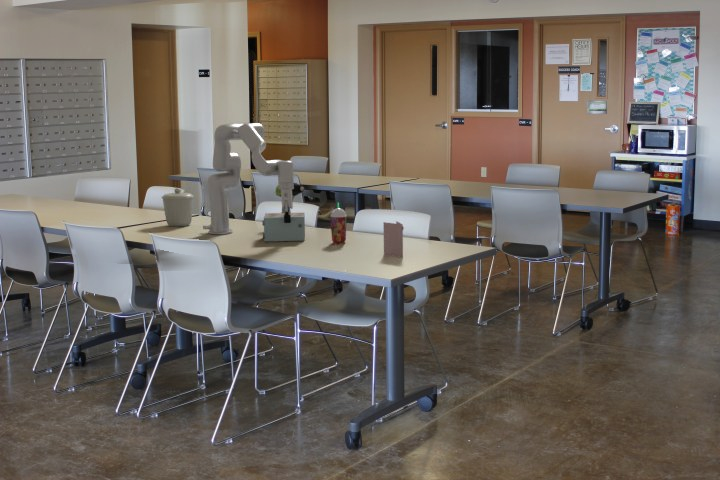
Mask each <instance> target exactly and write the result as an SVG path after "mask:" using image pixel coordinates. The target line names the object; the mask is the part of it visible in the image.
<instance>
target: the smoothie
mask: <svg viewBox="0 0 720 480" xmlns="http://www.w3.org/2000/svg"><path fill="white" fill-rule="evenodd" d="M329 217H330V219H329V220H330V228H331V229H330V231H331V232H330V233H331V241H332V243H333V244H335V245H336V244H337V245H341V244H345V243H346V239H347V224H348V223H347V222H348V221H347V218H348V214H347V213H346V211H345V210H344V209H343V208H340V202H337V207H336V208H335V209H333V210H332V211H331V213H330V214H329Z"/></svg>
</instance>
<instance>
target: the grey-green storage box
mask: <svg viewBox="0 0 720 480" xmlns="http://www.w3.org/2000/svg"><path fill="white" fill-rule="evenodd" d="M262 226H263V233H262V239H263V241H264V242H265V241H268V242H305V240H306V235H305V236H304V216H301V217H291V223H284V217H263V220H262Z"/></svg>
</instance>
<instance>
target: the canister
mask: <svg viewBox="0 0 720 480" xmlns="http://www.w3.org/2000/svg"><path fill="white" fill-rule="evenodd" d="M173 190H174V192H169V193H164V195H162V196H161V199H162V203H163V211H164V215H165V220H166V224H167V225H168V226H169V227H176V228H177V227H188V226H189V225H191V223H192V218H193V208H194V207H193V206H194V198H195V195H194V194H192V193H191V192H181V191H182V189H181V188H179V187H176V188H175V189H173Z"/></svg>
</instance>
